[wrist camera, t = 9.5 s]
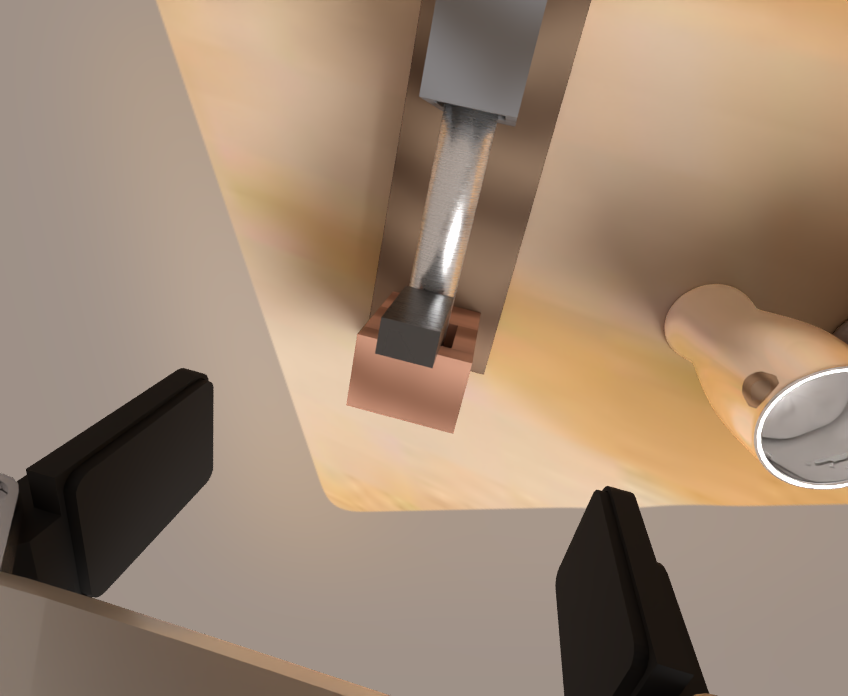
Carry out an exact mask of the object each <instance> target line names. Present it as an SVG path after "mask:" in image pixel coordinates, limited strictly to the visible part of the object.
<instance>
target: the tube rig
mask: <svg viewBox="0 0 848 696" xmlns="http://www.w3.org/2000/svg"><path fill="white" fill-rule="evenodd" d="M590 3H591V0H422V2H421V8H420V14H419V20H418V26H417V33H416V39H415V45H414V51H413V57H412V63H411V69H410V75H409V81H408V87H407V93H406V99H405V106H404V112H403V118H402V124H401V130H400V136H399V142H398V148H397V154H396V160H395V166H394V172H393V179H392V185H391V191H390V197H389V203H388V209H387V215H386V221H385V227H384V233H383V239H382V245H381V252H380V258H379V264H378V270H377V276H376V282H375V288H374V294H373V300H372V306H371V312H370V318H369V321H368V322H367V323H366V324H365V326H364V327H363V328H362V329H361V330H360V332H359V333H358V334H357V340H356V347H355V353H354V359H353V366H352V372H351V379H350V385H349V392H348V398H347V405H348V406H352V407H355V408H359V409H363V410H367V411H370V412H374V413H378V414H382V415H385V416H389V417H393V418H397V419H400V420H404V421H408V422H411V423H415V424H419V425H423V426H426V427H430V428H434V429H438V430H441V431H445V432H449V433H453V432H454V429H455V425H456V421H457V418H458V414H459V410H460V407H461V403H462V399H463V396H464V392H465V388H466V385H467V381H468V377H469V374H470V371H472V372H476V373H480V374H484V372H485V368H486V365H487V361H488V358H489V354H490V351H491V347H492V344H493V340H494V337H495V333H496V330H497V326H498V323H499V319H500V316H501V313H502V309H503V306H504V302H505V299H506V295H507V292H508V288H509V285H510V281H511V278H512V274H513V271H514V267H515V264H516V260H517V257H518V253H519V250H520V246H521V243H522V239H523V236H524V232H525V229H526V225H527V222H528V219H529V215H530V212H531V208H532V205H533V201H534V198H535V194H536V191H537V187H538V184H539V180H540V177H541V173H542V170H543V166H544V163H545V159H546V156H547V152H548V149H549V145H550V142H551V138H552V135H553V132H554V128H555V125H556V121H557V118H558V114H559V111H560V107H561V104H562V100H563V97H564V93H565V90H566V86H567V83H568V79H569V76H570V72H571V69H572V65H573V62H574V58H575V55H576V51H577V48H578V44H579V41H580V38H581V34H582V31H583V27H584V24H585V20H586V17H587V13H588V10H589V6H590ZM445 103H448V104H452V105H457V106H462V107H466V108H471V109H476V110H480V111H485V112H489V113H494V114H499V116H498V121H497V125H496V129H495V133H494V137H493V141H492V146H491V150H490V154H489V158H488V162H487V166H486V171H485V175H484V179H483V183H482V187H481V191H480V196H479V200H478V204H477V208H476V212H475V216H474V220H473V225H472V229H471V233H470V237H469V241H468V245H467V250H466V254H465V258H464V262H463V266H462V270H461V275H460V279H459V283H458V287H457V291H456V295H455V300H454V304H453V308H452V312H451V316H450V320H449V325H448V329H447V333H446V337H445V341H444V345H443V346H440V349H439V351H438V354H437V357H436V360H435V363H434V366H433V368H429V367H425V366H421V365H417V364H413V363H410V362H406V361H402V360H398V359H394V358H390V357H386V356H382V355H379V354H375V350H376V345H377V339H378V333H379V328H380V322H381V317H382V316H383V314H384V313H385V312H386V310H387V309H388V308H389V307H390V305H391V304H392V303H393V301H394V300H395V299H396V298H397V296H398V295H399V294H400V292H401V291H402V290H403V289H404V287H405V286H409V284H410V279H411V273H412V268H413V263H414V258H415V253H416V248H417V243H418V238H419V233H420V227H421V222H422V217H423V212H424V207H425V202H426V197H427V192H428V187H429V181H430V176H431V171H432V166H433V161H434V156H435V151H436V146H437V141H438V135H439V130H440V125H441V120H442V115H443V110H444V105H445Z"/></svg>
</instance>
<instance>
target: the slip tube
mask: <svg viewBox="0 0 848 696" xmlns="http://www.w3.org/2000/svg"><path fill="white" fill-rule="evenodd" d="M498 116H499V114H494V113H489V112H485V111H480V110H476V109H471V108H466V107H462V106H457V105H452V104H448V103H445V105H444V110H443V115H442V120H441V125H440V130H439V135H438V141H437V146H436V151H435V156H434V161H433V166H432V171H431V176H430V181H429V187H428V192H427V197H426V202H425V207H424V212H423V217H422V222H421V227H420V233H419V238H418V243H417V248H416V253H415V258H414V263H413V268H412V273H411V279H410V284H409V286H405V287H404V289H403V290H402V291H401V292H400V294H399V295H398V296H397V298H396V299H395V300H394V301H393V303H392V304H391V305H390V307H389V308H388V309H387V310H386V312H385V313H384V314H383V316H382V317H381V322H380V328H379V333H378V339H377V345H376V350H375V354H379V355H382V356H386V357H390V358H394V359H398V360H402V361H406V362H410V363H413V364H417V365H421V366H425V367H429V368H433V366H434V363H435V360H436V357H437V354H438V351H439V349H440V346H443V345H444V341H445V337H446V333H447V329H448V325H449V320H450V316H451V312H452V308H453V304H454V300H455V295H456V291H457V287H458V283H459V279H460V275H461V270H462V266H463V262H464V258H465V254H466V250H467V245H468V241H469V237H470V233H471V229H472V225H473V220H474V216H475V212H476V208H477V204H478V200H479V196H480V191H481V187H482V183H483V179H484V175H485V171H486V166H487V162H488V158H489V154H490V150H491V146H492V141H493V137H494V133H495V129H496V125H497V121H498Z"/></svg>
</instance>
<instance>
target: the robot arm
mask: <svg viewBox="0 0 848 696" xmlns="http://www.w3.org/2000/svg"><path fill="white" fill-rule="evenodd" d="M212 471H213V384H212V383H211V382H209V381H208V377H207V375H205V374H203V373H199V372H196V371H192V370H189V369H185V368H181V369H179V370H177V371H175V372H174V373H172V374H171V375H169V376H167V377H166V378H164V379H163V380H161V381H160V382H158V383H157V384H155V385H154V386H152V387H151V388H149V389H148V390H146V391H145V392H143V393H142V394H140V395H139V396H137V397H136V398H134V399H132V400H131V401H130V402H128V403H126V404H125V405H123V406H122V407H120V408H119V409H117V410H116V411H114V412H113V413H111V414H109V415H108V416H106V417H105V418H103V419H102V420H100V421H99V422H97V423H96V424H94V425H93V426H91V427H90V428H88V429H87V430H85V431H84V432H82V433H80V434H79V435H77V436H76V437H74V438H73V439H71V440H70V441H68V442H67V443H65V444H64V445H62V446H61V447H59V448H58V449H56V450H55V451H53V452H51V453H50V454H49V455H47V456H46V457H44V458H42V459H41V460H39V461H38V462H36V463H35V464H33V465H32V466H30V467H29V468H27V469H26V472H27V475H26V476H24V477H23V478H21V479H20V480H18V481H17V482H16V481H15V479H14V478H13V477H10V476H7V475H5V474H1V473H0V696H389V695H387V694H384V693H381V692H378V691H375V690H372V689H368V688H366V687H363V686H360V685H357V684H354V683H350V682H348V681H345V680H342V679H339V678H336V677H333V676H330V675H327V674H324V673H320V672H318V671H315V670H312V669H309V668H306V667H302V666H300V665H296V664H294V663H290V662H288V661H284V660H281V659H278V658H275V657H272V656H269V655H266V654H263V653H260V652H257V651H254V650H251V649H248V648H245V647H242V646H239V645H236V644H233V643H230V642H226V641H224V640H221V639H218V638H215V637H212V636H209V635H206V634H202V633H199V632H196V631H193V630H190V629H187V628H184V627H181V626H177V625H175V624H171V623H168V622H165V621H162V620H159V619H156V618H153V617H150V616H147V615H144V614H141V613H138V612H134V611H131V610H128V609H125V608H122V607H119V606H116V605H112V604H110V603H107V602H104V601H101V600H97V599H94V598H92V597H99V596H101V595H102V594H103V593H104V592H105V591H106V590H107V589H108V588H109V587H110V586H111V585H112V584H113V583H114V582H115V581H116V580H117V579H118V578H119V577H120V575H121V574H122V573H123V572H124V571H125V570H126V569H127V568H128V567H129V566H130V564H132V563H133V561H134V560H135V559H136V558H137V557H138V556H139V555H140V554H141V553H142V552H143V551H144V550H145V549H146V547H147V546H148V545H149V544H150V543H151V542H152V541H153V540H154V539H155V538H156V537H157V536H158V535H159V533H160V532H161V531H162V530H163V529H164V528H165V527H166V526H167V525H168V524H169V523H170V522H171V520H172V519H173V518H174V517H175V516H176V515H177V514H178V513H179V512H180V511H181V510H182V509H183V507H185V505H186V504H187V503H188V502H189V501H190V500H191V499H192V498H193V497H194V496H195V495H196V493H198V491H199V490H200V489H201V488H202V487H203V486H204V485H205V484H206V483H207V481H208V480H209V478H210V476H211V474H212ZM556 599H557V611H558V623H559V636H560V648H561V660H562V672H563V684H564V696H716V695H712V694H709V692H708V689H707V686H706V683H705V680H704V677H703V675H702V672H701V669H700V666H699V663H698V660H697V657H696V654H695V652H694V649H693V646H692V643H691V640H690V637H689V634H688V631H687V628H686V626H685V623H684V620H683V617H682V614H681V612H680V608H679V605H678V603H677V600H676V597H675V594H674V591H673V588H672V585H671V582H670V579H669V576H668V574H667V572H666V570H665V568H664V566H663V565H662V564H660V563H658V562H657V561H656V558H655V555H654V552H653V549H652V547H651V543H650V540H649V537H648V534H647V531H646V528H645V525H644V522H643V519H642V516H641V513H640V510H639V507H638V504H637V501H636V498H635V496H634V494H633V493H631V492H627V491H624V490H620V489H617V488H613V487H610V486H606V487H605V488H604V489H603V491H600V490H596V491H595V492H594V493H593V495H592V497H591V499H590V502H589V504H588V506H587V508H586V510H585V513H584V515H583V517H582V519H581V522H580V523H579V526H578V528H577V530H576V532H575V534H574V537H573V539H572V541H571V543H570V545H569V548H568V550H567V552H566V554H565V556H564V559H563V561H562V563H561V565H560V567H559V570H558V573H557V577H556Z"/></svg>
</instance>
